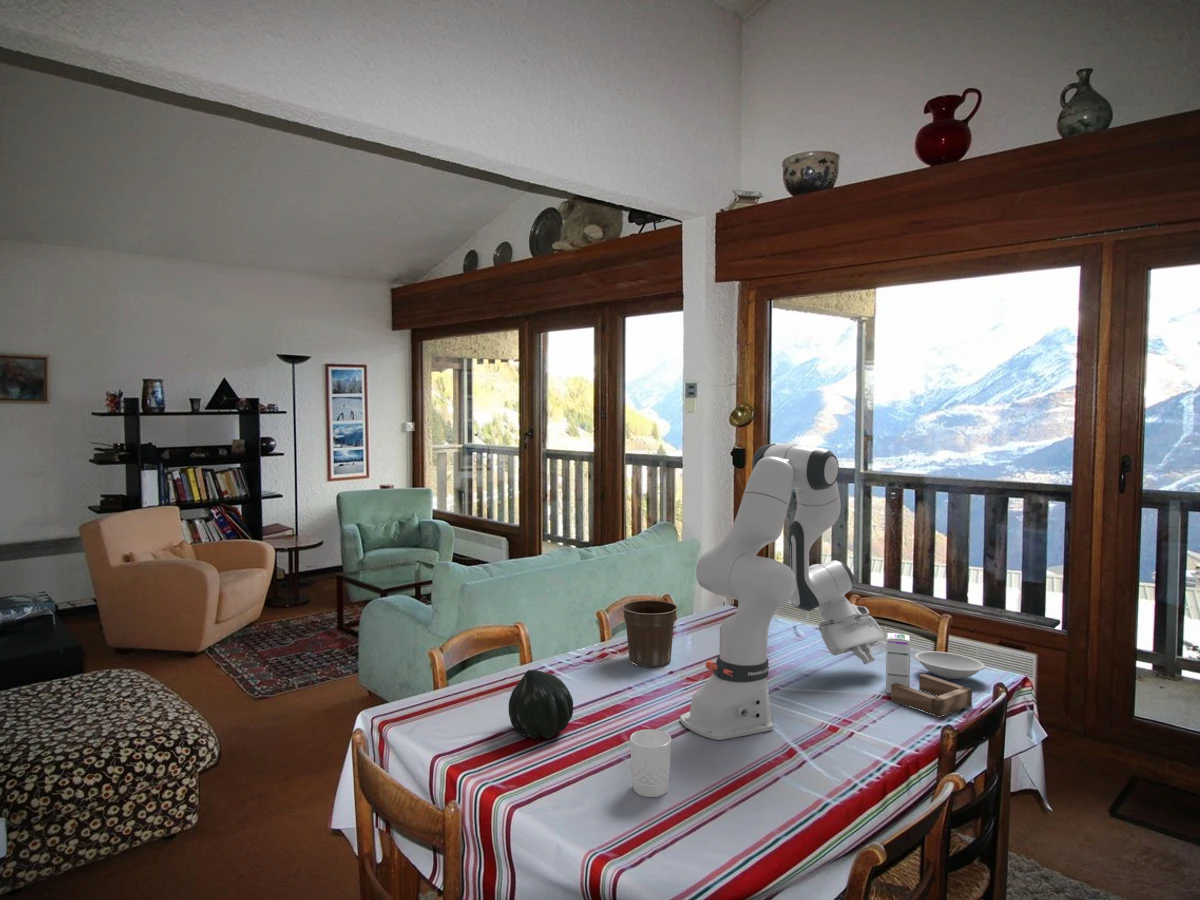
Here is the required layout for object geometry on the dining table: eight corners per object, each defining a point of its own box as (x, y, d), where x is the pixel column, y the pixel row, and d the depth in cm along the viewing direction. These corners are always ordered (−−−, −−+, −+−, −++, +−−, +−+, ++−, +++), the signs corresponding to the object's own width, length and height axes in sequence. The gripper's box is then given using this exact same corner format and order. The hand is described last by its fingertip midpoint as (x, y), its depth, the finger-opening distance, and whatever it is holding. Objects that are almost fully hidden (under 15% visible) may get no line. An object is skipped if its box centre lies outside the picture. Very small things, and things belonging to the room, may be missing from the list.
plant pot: (612, 656, 221) (612, 602, 220) (659, 649, 228) (660, 597, 227) (637, 673, 207) (638, 616, 206) (687, 665, 213) (688, 610, 213)
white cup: (668, 778, 147) (668, 728, 147) (673, 799, 140) (673, 746, 139) (628, 779, 147) (628, 729, 147) (631, 799, 139) (631, 747, 139)
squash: (595, 705, 170) (558, 650, 174) (559, 732, 157) (519, 672, 161) (557, 735, 176) (522, 681, 180) (519, 763, 163) (482, 704, 167)
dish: (907, 678, 204) (907, 660, 204) (922, 664, 215) (922, 647, 215) (977, 693, 193) (978, 674, 193) (989, 678, 204) (990, 660, 204)
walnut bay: (938, 717, 177) (939, 701, 177) (890, 700, 188) (891, 684, 188) (971, 705, 185) (972, 689, 185) (923, 688, 196) (924, 673, 196)
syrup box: (909, 696, 191) (911, 640, 190) (885, 692, 193) (886, 637, 192) (909, 688, 196) (910, 634, 195) (885, 685, 198) (886, 631, 198)
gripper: (822, 617, 201) (852, 663, 194) (870, 606, 213) (900, 649, 205) (809, 630, 205) (838, 675, 198) (857, 618, 217) (885, 661, 209)
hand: (870, 662), depth 201 cm, fingers closed
